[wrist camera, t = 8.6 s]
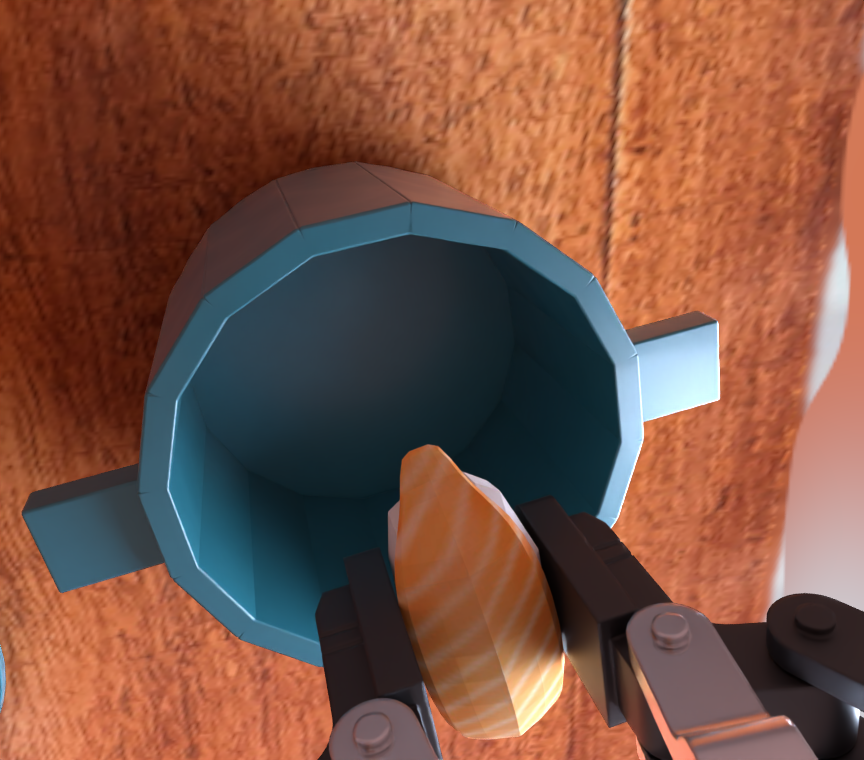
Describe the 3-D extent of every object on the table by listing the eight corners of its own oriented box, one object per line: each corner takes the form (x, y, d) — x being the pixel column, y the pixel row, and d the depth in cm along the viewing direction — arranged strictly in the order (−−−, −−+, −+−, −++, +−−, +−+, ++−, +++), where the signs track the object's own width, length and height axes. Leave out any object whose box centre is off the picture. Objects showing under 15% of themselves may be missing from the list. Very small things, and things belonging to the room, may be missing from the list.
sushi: (435, 694, 16) (478, 820, 13) (334, 448, 13) (363, 544, 11) (549, 645, 16) (612, 757, 14) (472, 394, 14) (533, 474, 11)
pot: (15, 233, 22) (-94, 319, 15) (577, 109, 25) (732, 126, 17) (154, 568, 27) (127, 761, 20) (607, 434, 30) (737, 558, 22)
